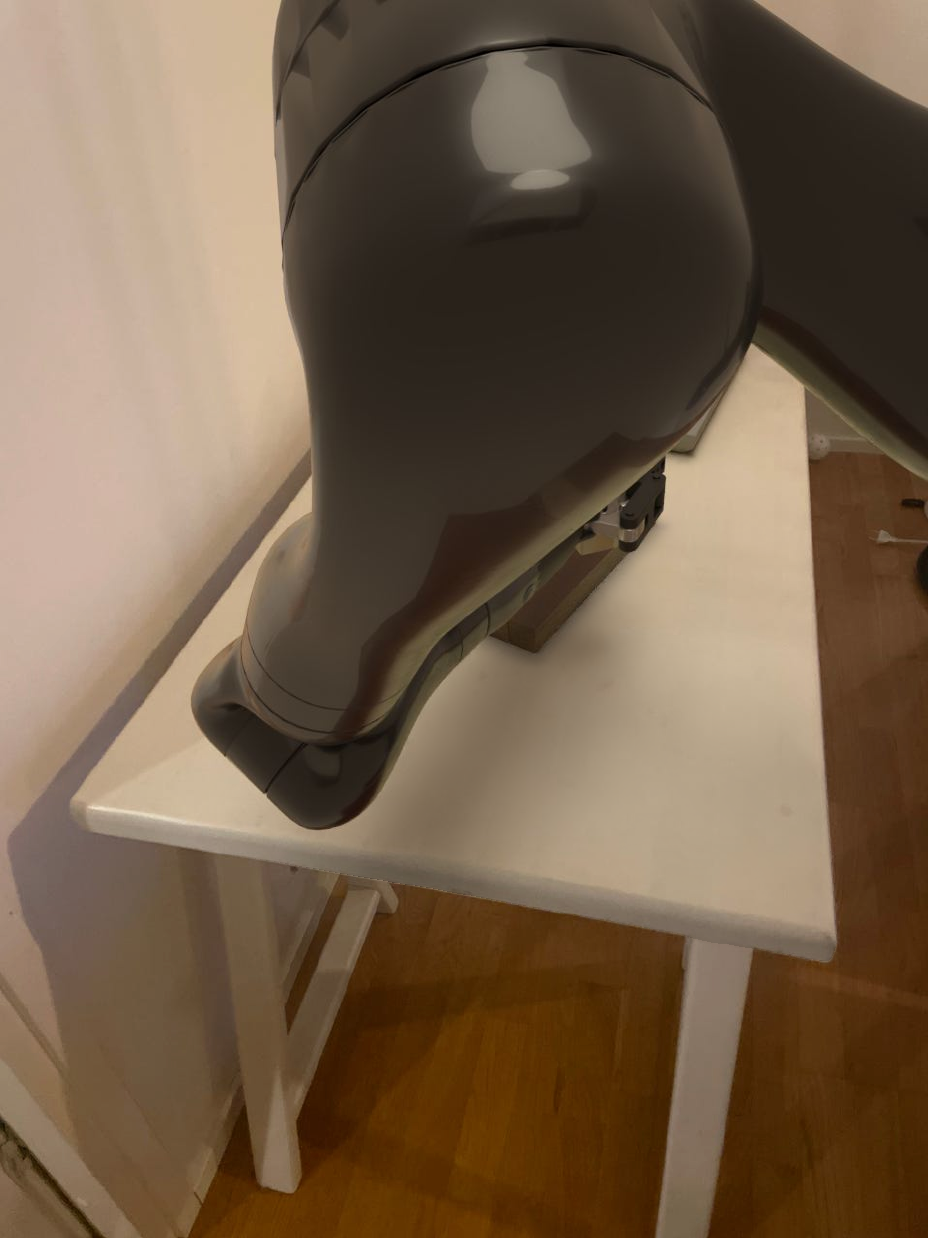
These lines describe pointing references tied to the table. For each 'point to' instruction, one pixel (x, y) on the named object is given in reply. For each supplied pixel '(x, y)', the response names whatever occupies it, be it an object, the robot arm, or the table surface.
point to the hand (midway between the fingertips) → (612, 440)
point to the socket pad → (558, 598)
